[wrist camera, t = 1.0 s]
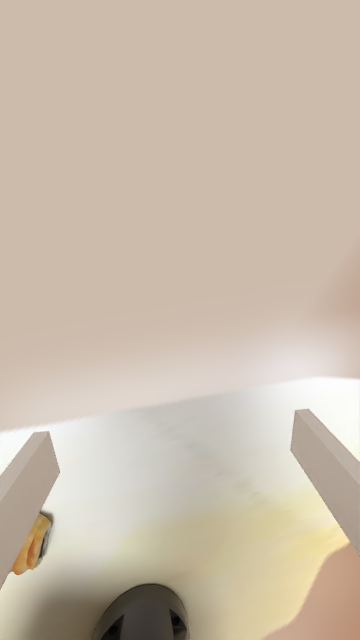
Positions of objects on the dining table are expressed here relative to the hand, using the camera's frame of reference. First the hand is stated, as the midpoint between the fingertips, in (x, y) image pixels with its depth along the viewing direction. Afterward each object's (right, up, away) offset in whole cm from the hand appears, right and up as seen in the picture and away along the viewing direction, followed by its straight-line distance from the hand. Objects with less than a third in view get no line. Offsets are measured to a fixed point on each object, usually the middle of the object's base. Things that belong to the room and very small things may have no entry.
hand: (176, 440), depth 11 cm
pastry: (-24, -26, +21) cm, 41 cm away
